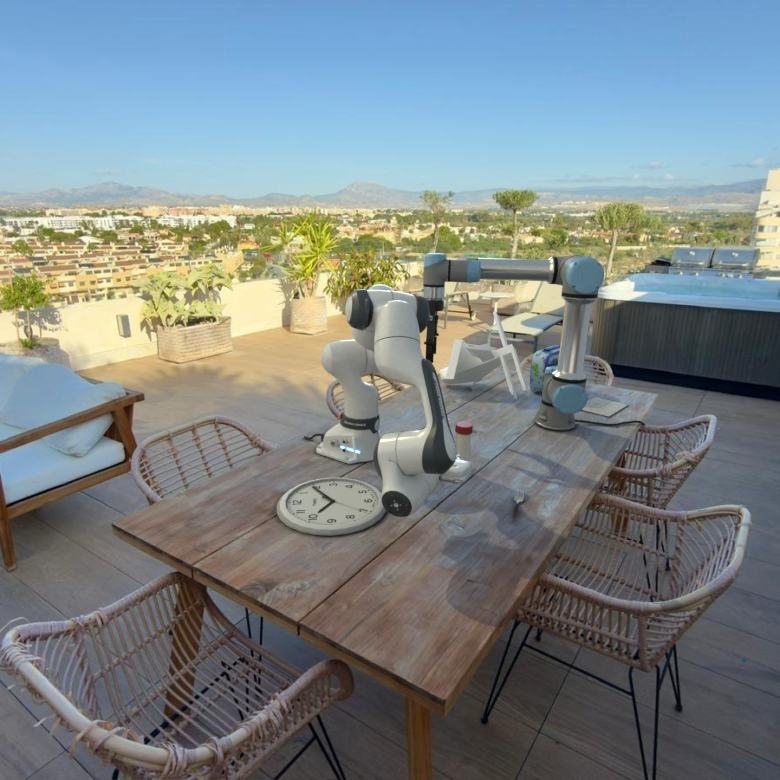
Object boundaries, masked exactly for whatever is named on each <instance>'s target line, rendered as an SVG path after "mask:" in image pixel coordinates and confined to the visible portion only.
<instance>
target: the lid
mask: <svg viewBox="0 0 780 780" xmlns="http://www.w3.org/2000/svg"><path fill="white" fill-rule="evenodd" d="M473 427H474V426H473V423H472V422H469V421H464V420H463V421H457V422H456V423H455V427H454V430H455V434H456V433H458V434H461V435H469V434H471V435H472V433H473Z"/></svg>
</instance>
